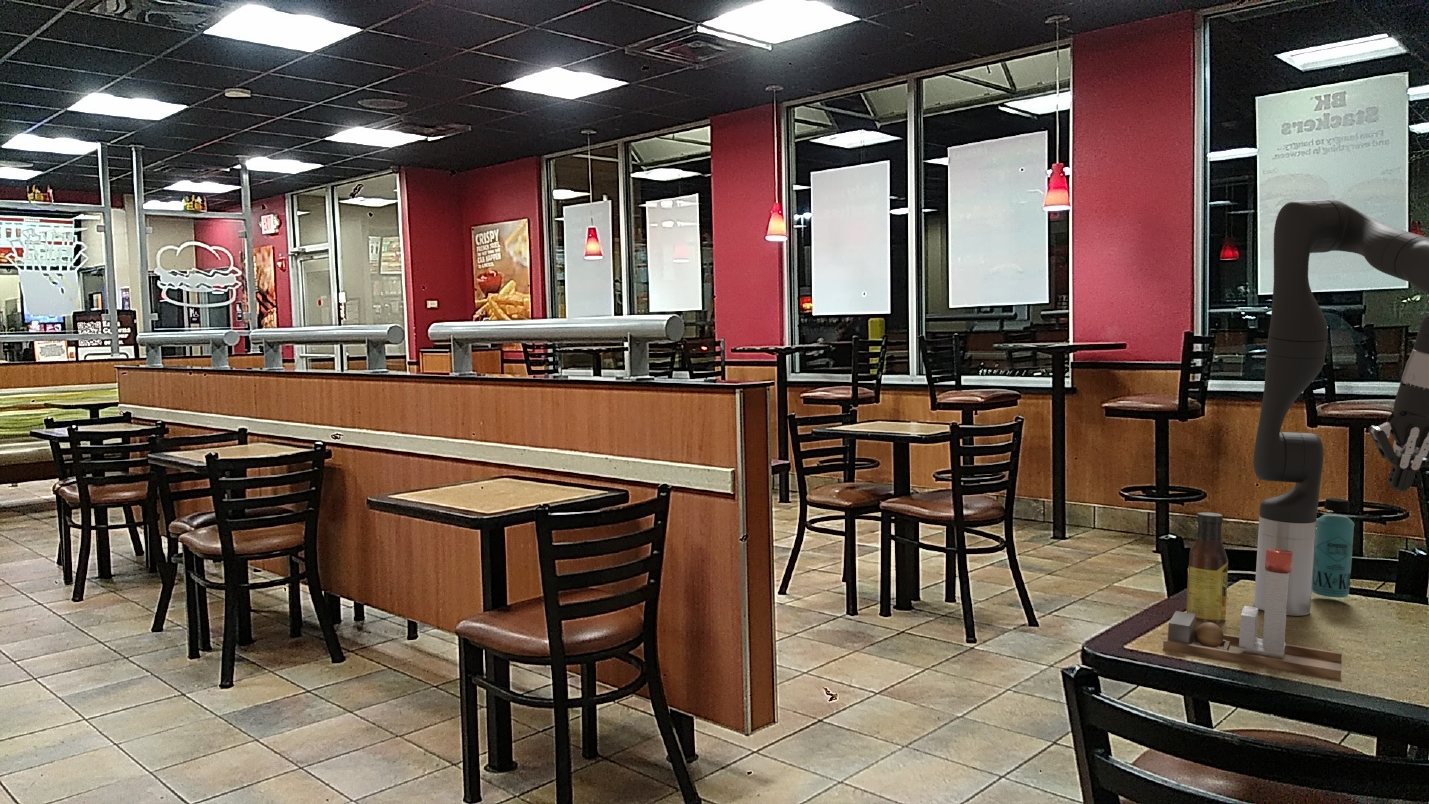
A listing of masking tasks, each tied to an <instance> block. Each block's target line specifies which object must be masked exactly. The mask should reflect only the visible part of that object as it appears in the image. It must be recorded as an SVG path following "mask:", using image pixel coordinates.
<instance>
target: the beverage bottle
mask: <svg viewBox="0 0 1429 804" xmlns="http://www.w3.org/2000/svg"><path fill="white" fill-rule="evenodd" d="M1324 501H1325V502H1324V505H1323V509H1325V510H1326V511H1327V510H1328V511H1331V512H1332V511H1333V512H1341V513H1342V512H1350V501H1349V500H1348V499H1345V498H1338V497H1328V498H1327V497H1326V498H1325V500H1324ZM1355 526H1356V525H1355V522H1354V521H1353V520H1352V519H1351V518H1350V517H1348V516H1344V515H1339V514H1322V515H1321V516H1320V517H1318V518H1316V534H1315V551H1314V566H1313V581H1312V593H1314V594H1315V595H1319V596H1323V597H1328V598H1347V597H1348V596H1349V594H1350V592H1351V591H1350V590H1351V574H1352V573H1353V572H1351V571H1352V568H1353V567H1352V563H1353V552H1354V549H1353V545H1354V543H1353V542H1354V532H1355V531H1354V529H1355V528H1354V527H1355Z"/></svg>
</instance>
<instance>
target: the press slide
mask: <svg viewBox="0 0 1429 804" xmlns="http://www.w3.org/2000/svg"><path fill="white" fill-rule="evenodd" d="M1292 558H1293V552H1291V551H1287V550H1282V549H1266V558H1265V570H1267V581H1266V598H1265V611H1264V617H1263V630H1262V631H1263V634H1262V638H1259V637H1257V636H1258V623H1259V622H1258V621H1259V619H1258V618H1259V609H1258V608H1256V607H1255V606H1248V605H1244V606H1243V608H1242V611H1241V613H1240V619H1239V620H1240V623H1239V625H1240V626H1239V636H1240V637H1239V647H1245V648H1246V654H1252V655H1258V656H1264V657H1269V658H1275V659H1281V660H1284V655H1285V645H1286V644H1287V643H1286V642H1285V637H1286V624H1287V623H1286V622H1287V615H1286V610H1287V594H1288V579H1289V573H1291V572H1292Z"/></svg>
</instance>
